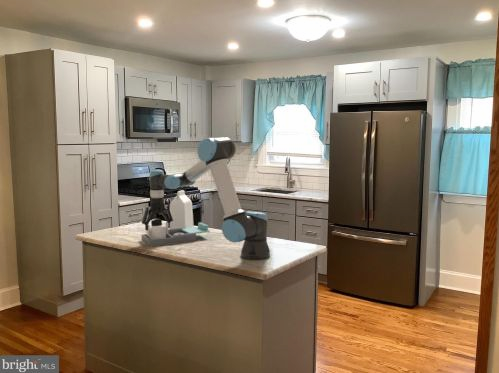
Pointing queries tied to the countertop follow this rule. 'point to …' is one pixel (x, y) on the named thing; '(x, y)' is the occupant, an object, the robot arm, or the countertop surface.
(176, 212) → the milk
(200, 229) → the lid
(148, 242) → the housing
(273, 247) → the countertop surface
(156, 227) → the medicine bottle
